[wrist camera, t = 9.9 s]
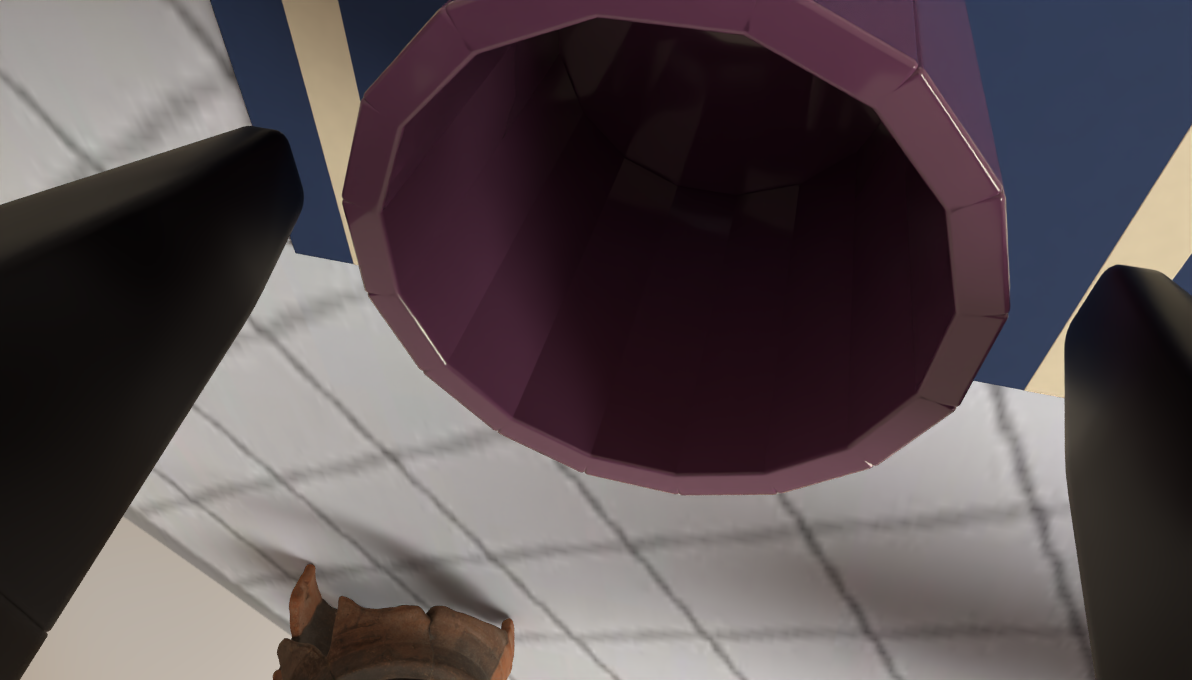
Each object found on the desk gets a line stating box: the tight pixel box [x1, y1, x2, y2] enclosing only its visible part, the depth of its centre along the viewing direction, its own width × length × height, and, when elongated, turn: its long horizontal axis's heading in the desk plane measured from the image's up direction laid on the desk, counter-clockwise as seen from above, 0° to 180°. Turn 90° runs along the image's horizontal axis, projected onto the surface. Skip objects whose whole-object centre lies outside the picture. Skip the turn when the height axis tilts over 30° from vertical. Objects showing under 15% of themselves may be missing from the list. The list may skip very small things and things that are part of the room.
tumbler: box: [342, 0, 1011, 495], centre depth 10 cm, size 6×6×7 cm
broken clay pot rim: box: [273, 564, 514, 680], centre depth 32 cm, size 12×10×8 cm
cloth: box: [210, 0, 1192, 398], centre depth 13 cm, size 20×14×1 cm
